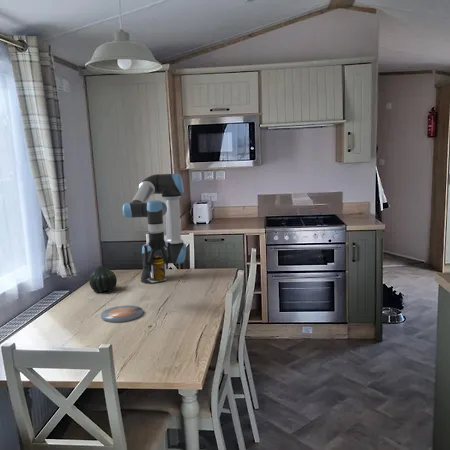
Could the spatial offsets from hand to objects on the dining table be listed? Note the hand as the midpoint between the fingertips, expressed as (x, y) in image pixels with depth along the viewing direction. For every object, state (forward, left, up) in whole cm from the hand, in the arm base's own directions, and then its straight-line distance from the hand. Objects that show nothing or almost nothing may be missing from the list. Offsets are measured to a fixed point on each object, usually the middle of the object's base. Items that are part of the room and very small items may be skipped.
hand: (158, 276), depth 230 cm
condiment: (0, -1, -2) cm, 2 cm away
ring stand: (+4, -20, -15) cm, 26 cm away
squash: (-41, -23, -16) cm, 49 cm away
